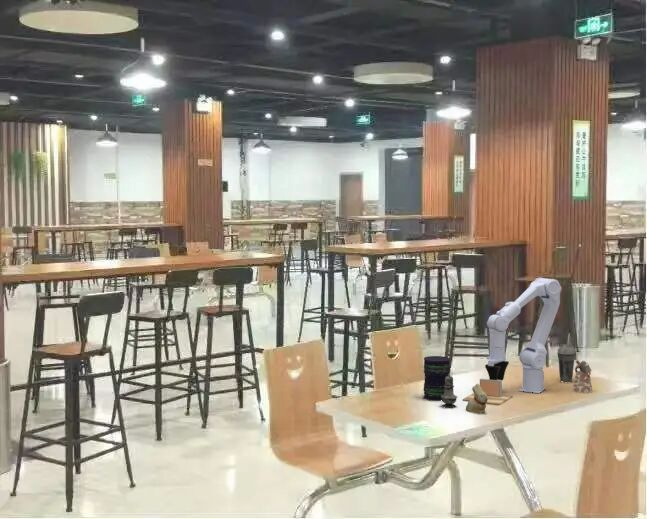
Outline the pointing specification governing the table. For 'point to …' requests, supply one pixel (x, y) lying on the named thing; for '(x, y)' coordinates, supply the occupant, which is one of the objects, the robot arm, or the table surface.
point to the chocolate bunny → (477, 401)
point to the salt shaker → (449, 393)
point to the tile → (491, 387)
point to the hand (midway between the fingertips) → (496, 381)
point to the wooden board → (491, 399)
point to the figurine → (582, 378)
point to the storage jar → (435, 376)
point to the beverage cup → (566, 361)
